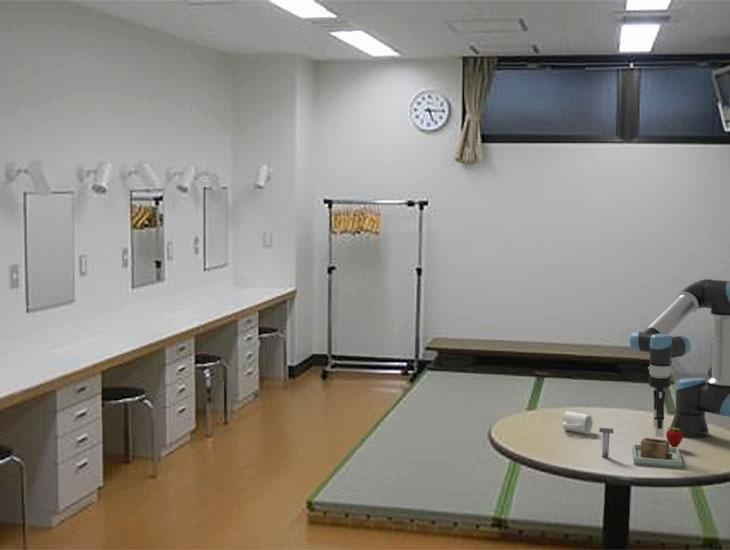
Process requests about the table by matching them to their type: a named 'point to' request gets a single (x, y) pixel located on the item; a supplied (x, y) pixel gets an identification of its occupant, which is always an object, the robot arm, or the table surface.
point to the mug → (577, 422)
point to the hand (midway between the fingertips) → (658, 431)
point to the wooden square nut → (655, 449)
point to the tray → (673, 463)
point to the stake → (605, 441)
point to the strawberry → (674, 436)
